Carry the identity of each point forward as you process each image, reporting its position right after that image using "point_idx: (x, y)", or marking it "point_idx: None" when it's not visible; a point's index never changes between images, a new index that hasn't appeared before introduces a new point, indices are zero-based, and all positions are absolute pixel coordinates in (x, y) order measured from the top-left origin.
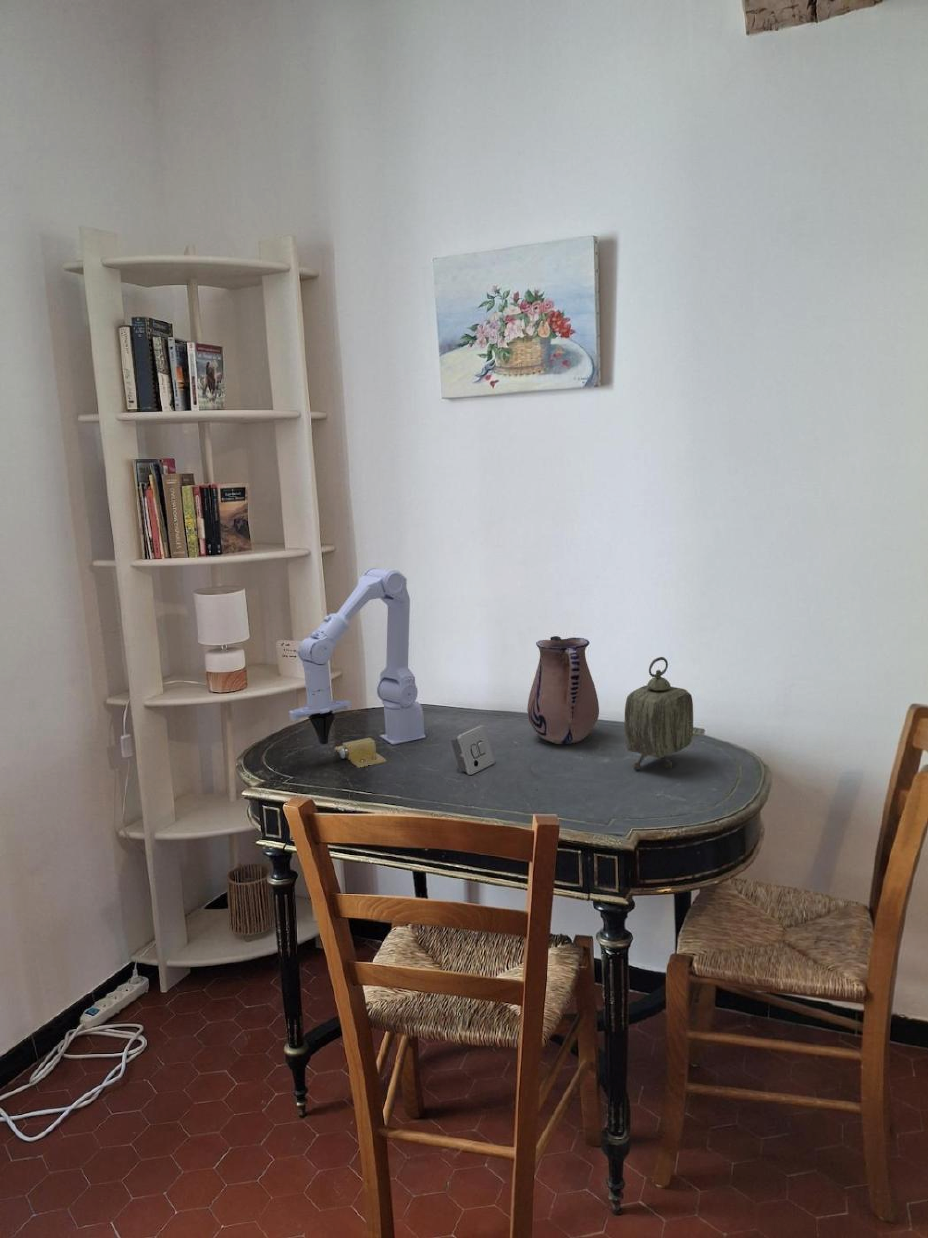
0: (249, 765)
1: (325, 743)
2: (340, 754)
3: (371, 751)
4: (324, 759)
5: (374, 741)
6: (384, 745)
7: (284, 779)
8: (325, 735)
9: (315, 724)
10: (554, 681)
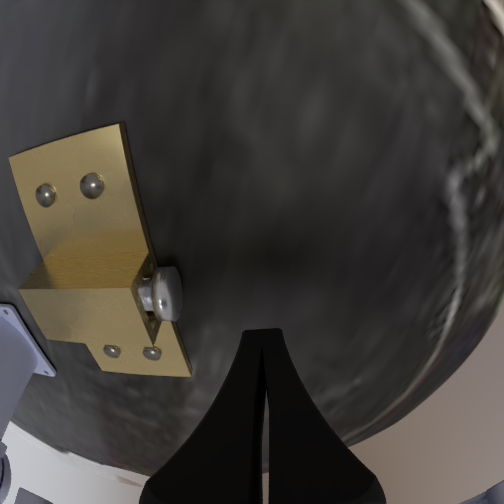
0: (467, 353)
1: (258, 331)
2: (180, 299)
3: (52, 263)
4: (253, 311)
5: (19, 289)
6: None
7: (480, 177)
8: (255, 372)
9: (354, 462)
10: None
